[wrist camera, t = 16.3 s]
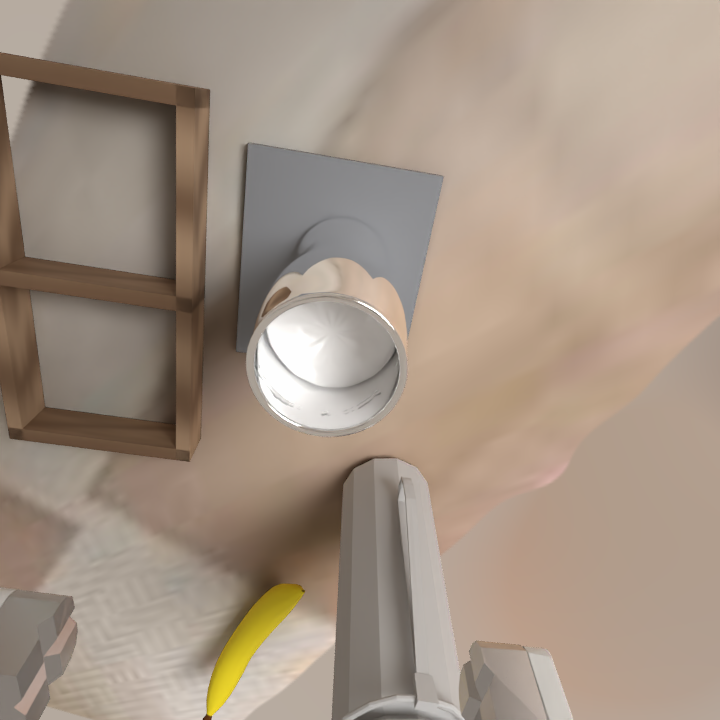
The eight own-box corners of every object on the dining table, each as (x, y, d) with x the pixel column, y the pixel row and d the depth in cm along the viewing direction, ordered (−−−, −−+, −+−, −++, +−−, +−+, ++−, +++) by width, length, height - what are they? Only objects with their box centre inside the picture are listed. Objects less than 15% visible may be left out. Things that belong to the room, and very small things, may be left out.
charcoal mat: (250, 142, 31) (248, 143, 31) (442, 175, 32) (443, 176, 32) (237, 347, 37) (236, 351, 37) (399, 371, 38) (399, 374, 38)
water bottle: (417, 526, 45) (472, 940, 23) (330, 510, 44) (297, 922, 22) (450, 442, 41) (555, 845, 19) (354, 423, 40) (345, 819, 18)
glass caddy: (-21, 48, 29) (-60, 43, 26) (209, 89, 30) (195, 88, 27) (33, 416, 40) (9, 438, 38) (200, 438, 41) (189, 461, 38)
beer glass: (375, 194, 32) (383, 264, 19) (406, 295, 35) (433, 417, 22) (272, 230, 33) (210, 320, 20) (311, 325, 36) (280, 458, 23)
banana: (323, 550, 47) (317, 612, 41) (234, 663, 54) (219, 729, 48) (294, 538, 46) (285, 599, 40) (209, 654, 53) (190, 720, 48)
